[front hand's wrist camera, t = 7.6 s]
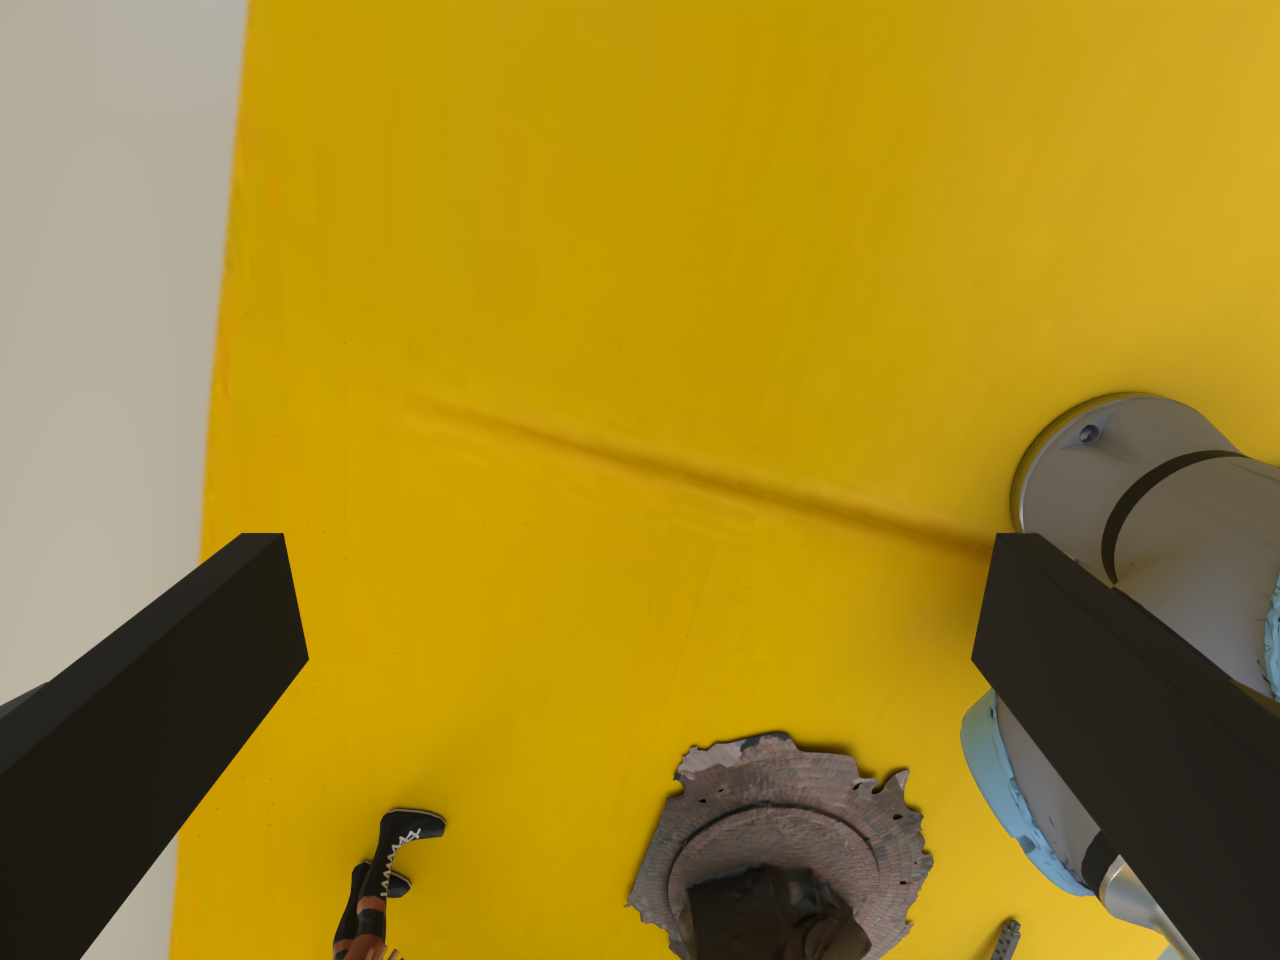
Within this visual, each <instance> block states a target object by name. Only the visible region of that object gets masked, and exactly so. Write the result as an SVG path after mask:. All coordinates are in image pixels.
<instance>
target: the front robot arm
mask: <svg viewBox="0 0 1280 960" xmlns="http://www.w3.org/2000/svg"><path fill="white" fill-rule="evenodd" d="M1010 508H1011V516H1012V521H1013V525H1014V528H1015V530H1016V532H1017V533H997V534H996V539H995V544H994V549H993V554H992V559H991V563H990V568H989V573H988V578H987V583H986V588H985V593H984V598H983V603H982V608H981V613H980V617H979V622H978V627H977V632H976V637H975V642H974V647H973V652H972V657H971V660H972V662H973V663H974V664H975V665H976V667H977V668H978V669H979V671H980V672H981V673H982V675H983V676H984V677H985V679H986V680H987V681H988V683H989V684H990V685H991V686H992V687H991V689H990V690H989V691H988V692H987V693H986V694H985V695H984V696H983V697H981V698H980V699H979V700H978V701H977V702H976V703H975V704H974V705H973V706H972V707H971V708H970V709H969V710H968V711H967V712H966V714H965V716H964V717H963V720H962V728H961V731H960V739H961V745H962V749H963V753H964V756H965V759H966V762H967V764H968V767H969V769H970V772H971V774H972V776H973V778H974V780H975V782H976V784H977V786H978V788H979V789H980V791H981V793H982V795H983V796H984V798H985V800H986V801H987V803H988V805H989V806H990V808H991V809H992V811H993V813H994V814H995V816H996V817H997V819H998V820H999V822H1000V823H1001V825H1002V826H1003V827H1004V829H1005V830H1006V831H1007V833H1008V834H1009V835H1010V836H1011V837H1013V838H1015V839H1016V840H1018V841H1019V844H1020V846H1021V847H1022V849H1023V851H1024V853H1025V855H1026V856H1027V857H1028V858H1029V860H1030V861H1031V862H1032V863H1033V864H1034V865H1035V866H1036V867H1037V869H1038V870H1039V871H1040V872H1041V873H1043V874H1044V875H1045V876H1046V877H1047V878H1048V879H1049V880H1050V881H1051V882H1052V883H1054V884H1055V885H1056V886H1057V887H1059V888H1060V889H1062V890H1064V891H1066V892H1068V893H1070V894H1073V895H1076V896H1081V897H1082V896H1086V895H1088V896H1093V895H1096V897H1097V898H1098V899H1099V901H1100V902H1101V903H1102V905H1103V906H1104V907H1105V909H1106V910H1107V911H1108V912H1109V914H1111V915H1112V916H1114V917H1115V918H1117V919H1120V920H1123V921H1126V922H1129V923H1133V924H1136V925H1139V926H1142V927H1145V928H1149V929H1152V930H1154V931H1156V932H1158V933H1159V934H1161V935H1163V936H1164V937H1165V939H1166V940H1167V941H1168V942H1169V944H1170V945H1171V946H1172V947H1173V949H1174V950H1175V951H1176V952H1177V954H1178V955H1179V956H1180V957H1181V959H1182V960H1280V468H1277V467H1275V466H1272V465H1269V464H1267V463H1264V462H1261V461H1258V460H1255V459H1252V458H1250V457H1247V456H1245V455H1243V454H1242V453H1241V452H1240V451H1239V450H1238V449H1237V448H1236V447H1235V446H1234V445H1233V444H1232V443H1231V442H1230V441H1229V440H1228V439H1227V438H1226V437H1225V436H1224V435H1223V434H1221V433H1220V432H1219V431H1218V430H1217V429H1216V428H1215V427H1214V426H1213V425H1212V424H1211V423H1210V422H1209V421H1208V420H1207V419H1206V418H1205V417H1204V416H1203V415H1202V414H1200V413H1199V412H1198V411H1196V410H1195V409H1193V408H1191V407H1189V406H1187V405H1185V404H1182V403H1180V402H1177V401H1174V400H1171V399H1168V398H1165V397H1162V396H1158V395H1154V394H1149V393H1142V392H1123V393H1116V394H1110V395H1106V396H1102V397H1099V398H1096V399H1093V400H1090V401H1088V402H1085V403H1083V404H1081V405H1079V406H1077V407H1075V408H1073V409H1071V410H1070V411H1068V412H1066V413H1065V414H1063V415H1062V416H1061V417H1059V418H1058V419H1056V420H1055V421H1054V422H1053V423H1052V424H1050V425H1049V426H1048V427H1047V428H1046V429H1045V430H1044V431H1043V432H1042V433H1041V434H1040V435H1039V436H1038V437H1037V439H1036V440H1035V441H1034V442H1033V443H1032V445H1031V446H1030V448H1029V449H1028V450H1027V452H1026V453H1025V455H1024V457H1023V459H1022V460H1021V462H1020V465H1019V467H1018V469H1017V472H1016V474H1015V477H1014V481H1013V485H1012V489H1011V497H1010ZM308 660H309V657H308V652H307V647H306V642H305V637H304V632H303V627H302V622H301V617H300V613H299V608H298V603H297V598H296V593H295V588H294V583H293V578H292V573H291V568H290V563H289V559H288V554H287V549H286V544H285V539H284V534H283V533H241V534H240V535H239V536H237V537H236V538H235V539H233V540H232V541H231V542H230V543H228V544H227V545H226V546H224V547H223V548H222V549H221V550H219V551H218V552H217V553H215V554H214V555H213V556H211V557H210V558H209V559H208V560H206V561H205V562H204V563H202V564H201V565H200V566H198V567H197V568H196V569H195V570H193V571H192V572H191V573H189V574H188V575H187V576H186V577H184V578H183V579H182V580H180V581H179V582H178V583H176V584H175V585H174V586H173V587H171V588H170V589H169V590H167V591H166V592H165V593H163V594H162V595H161V596H160V597H158V598H157V599H156V600H154V601H153V602H152V603H150V604H149V605H148V606H147V607H145V608H144V609H143V610H141V611H140V612H139V613H137V614H136V615H135V616H134V617H132V618H131V619H130V620H128V621H127V622H126V623H125V624H123V625H122V626H121V627H119V628H118V629H117V630H116V631H114V632H113V633H112V634H110V635H109V636H108V637H106V638H105V639H104V640H102V641H101V642H100V643H99V644H97V645H96V646H95V647H93V648H92V649H91V650H89V651H88V652H87V653H86V654H84V655H83V656H82V657H80V658H79V659H78V660H77V661H75V662H74V663H73V664H71V665H70V666H69V667H68V668H66V669H65V670H64V671H62V672H61V673H60V674H58V675H57V676H56V677H55V678H53V679H52V680H51V681H49V682H46V683H44V684H42V685H40V686H38V687H36V688H34V689H32V690H30V691H28V692H26V693H25V694H23V695H21V696H19V697H17V698H15V699H13V700H11V701H9V702H7V703H5V704H3V705H1V706H0V960H80V959H81V957H82V956H83V955H84V954H85V952H86V951H87V950H88V948H89V947H90V946H91V944H92V943H93V942H94V940H95V939H96V938H97V937H98V935H99V934H100V933H101V931H102V930H103V929H104V927H105V926H106V925H107V923H108V922H109V921H110V919H111V918H112V917H113V916H114V914H115V913H116V912H117V910H118V909H119V908H120V906H121V905H122V904H123V902H124V901H125V900H126V899H127V897H128V896H129V895H130V893H131V892H132V891H133V889H134V888H135V887H136V885H137V884H138V883H139V882H140V880H141V879H142V878H143V876H144V875H145V874H146V872H147V871H148V870H149V868H150V867H151V866H152V865H153V863H154V862H155V861H156V859H157V858H158V857H159V855H160V854H161V853H162V851H163V850H164V849H165V848H166V846H167V845H168V843H169V842H170V841H171V840H172V838H173V837H174V836H175V834H176V833H177V832H178V830H179V829H180V828H181V827H182V825H183V824H184V823H185V821H186V820H187V819H188V817H189V816H190V815H191V813H192V812H193V811H194V810H195V808H196V807H197V806H198V804H199V803H200V802H201V800H202V799H203V798H204V796H205V795H206V794H207V793H208V791H209V790H210V789H211V787H212V786H213V785H214V783H215V782H216V781H217V779H218V778H219V777H220V775H221V774H222V773H223V772H224V770H225V769H226V768H227V766H228V765H229V764H230V762H231V761H232V760H233V758H234V757H235V756H236V755H237V753H238V752H239V751H240V749H241V748H242V747H243V745H244V744H245V743H246V741H247V740H248V739H249V738H250V736H251V735H252V734H253V732H254V731H255V730H256V728H257V727H258V726H259V724H260V723H261V722H262V720H263V719H264V718H265V717H266V715H267V714H268V713H269V711H270V710H271V709H272V707H273V706H274V705H275V703H276V702H277V701H278V700H279V698H280V697H281V696H282V694H283V693H284V692H285V690H286V689H287V688H288V686H289V685H290V684H291V683H292V681H293V680H294V679H295V677H296V676H297V675H298V673H299V672H300V671H301V669H302V668H303V667H304V665H305V664H306V663H307V662H308Z"/></svg>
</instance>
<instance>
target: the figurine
mask: <svg viewBox="0 0 1280 960" xmlns="http://www.w3.org/2000/svg"><path fill="white" fill-rule="evenodd" d="M445 825H446V822H445V821H444V820H443V819H442V818H441V817H439V816H437V815H435V814H432V813H429V812H424V811H418V810H406V809H394V810H391V811H388V812H387V813H386V814H385V815H384V816H383V818H382V820H381V822H380V835H379V843H378V847H377V850H376V853H375V856H374V859H373V861H372V863H370V862H368V861H366V860H365V861H363V862H361V863H359V864H358V865H357V866H356V867H355V868H354V870H353V872H352V884H351V894H350V897H349V901H348V904H347V907H346V909H345V911H344V913H343V916H342V918H341V920H340V923H339V926H338V928H337V931H336V934H335V937H334V941H333V960H383V956H384V954H385V952H386V950H387V948H388V946H386V945H385V938H386V901H387V897H388V898H398V897H402V896H403V895H404V894H406V893H407V892H408V891H409V890H410V888H411V884H410V882H409V880H407V879H406V878H404V877H402V876H400V875H398V874H396V873H393V872H391V867H392V863H393V860H394V857H395V854H396V851H397V850H398V849H399V848H400V847H401V846H402V845H404V844H405V843H406V842H409V841H413V840H416V839H425V838H434V837H442V835H443V834H444V831H445ZM398 953H399V951H398V950H397V949H394V950H393V952H392V953H391V955H390V957H389V958H388V960H395V959H396V957H397V955H398ZM400 960H404V958H401V959H400Z"/></svg>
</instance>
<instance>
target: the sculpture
mask: <svg viewBox="0 0 1280 960" xmlns="http://www.w3.org/2000/svg"><path fill="white" fill-rule="evenodd" d="M689 751H690V752H689V753H688V755H687V756H686V757H684V756H682V758H683V760H682V761H683V763H682V764H681V765H679V768H678V772H677V773H675V775H674V779H673V780H678V781H680V782H681V784H682V785H683V787H684V794H683V795H681V796H677V797H672V798H667V799H666V800H667V801H668V802H666V803H667V805H666V808H664V811H663V813H662V816H661V820H660V822H659V824H658V825H659V826H658V827H657V828H656V831H655V833H656V834H654V836H653V839H652V841H651V844H650V846H649V848H648V850H647V853H646V856H645V857H644V860H643V863H644V865H641V868H640V869H639V873H638V875H637V879H636V881H635V883H634V884H635V886H634V888H633V890H632V892H631V893H630V895H629V897H628V899H627V902H628V904H626V906H625V905H624V906H623V907H629V906H631V905H632V906H633V907H634V908H635V909H636V910H638V911H639V912H640V919H641V921H642V922H643V923H646V924H649V923H653V924H656V925H657V926H658V927H659V928H661V929H665V930H666V931H667V932H668V933H669V939H670V941H671V942H670V945H669V949H671V951H672V952H674V953H675V954H676V955H678V956H679V957H680V958H681V959H682V960H878V958H879V959H880V957H882V956H883V955H884V954H885V953H887V952H888V951H889V950H890V949H891V948H892V947H894V946H895V945H897V944H898V943H899V941H901V940H902V938H903V937H905V936H906V935H907V934H909V931H910V928H911V927H912V926H913V924H914V923H913V924H909V925H906V924H905V920H906V914H907V910H908V908H909V907H910V906H911V905H912V904H913V903H914V902H915V901H916V898H917V897H918V895H917V892H918V891H920V890H921V885H922V884H923V882H924V880H925V879H926V877H927V876H928V874H927V873H928V872H929V871H930V870H931V869H930V868H932V866H933V863H934V861H933V858H932V856H931V855H924V854H923V853H922V852H921V851H922V849H923V847H924V844H925V840H924V838H923V836H922V835H921V834H920V833H919V832H918V831H920V830H922V829H921V827H920V823H921V821H922V819H923V817H924V816H923V815H922V814H921V813H918V812H912V811H910V810H909V809H908V808H907V807H906V805H905V802H904V787H905V784H906V781H907V778H908V775H909V770H905V771H902V772H900V773H898V774H896V775H894V776H893V777H891V779H890V780H889V781H888V782H887V784H886V785H885V786H884V789H883V790H882V791H881V792H880V793H878V794H872V793H871V791H872V789H873V788H874V787H876V786H877V785H878V784H879V781H878V780H877V779H874V778H869V779H864V778H861V777H859V775H858V769H857V765H856V761H855V759H854V758H853V757H851V756H847V755H839V754H831V753H809V752H803V751H800V750H798V749H797V748H796V746H795V745H794V743H793V741H792V740H791V738H790V737H789V736H788V735H786V734H783V733H773V734H767V735H762V736H757V737H753V738H749V739H745V740H741V741H737V742H733V743H728V744H715V745H714V746H713V747H712V748H710V749H709V750H708V751H701V750H698V749H697V747H694V748H691V749H690V750H689ZM873 781H874V782H873ZM860 782H862V784H860V785H859V788H858V789H857V790H853V788H854V786H855V785H857V784H858V783H860ZM720 789H724V790H723V791H722V792H718V791H719V790H720ZM702 799H705V800H706V803H701V802H699V800H702ZM895 814H900V815H902V816H903V818H901V819H898V820H894V819H893V816H894V815H895ZM914 862H917V864H914ZM901 881H906V882H907V884H904V885H901V884H900V882H901ZM643 908H644V909H643ZM647 917H650V918H647Z"/></svg>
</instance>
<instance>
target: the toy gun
mask: <svg viewBox="0 0 1280 960" xmlns="http://www.w3.org/2000/svg"><path fill="white" fill-rule="evenodd" d="M1020 926H1021V925H1020V924H1019V923H1018V922H1017V921H1015V920H1011V921H1010V923H1009V925H1005V926H1004V928H1003V930H1002V933H1001V935H1000V938H999V940H998V942H997V945H996V947H995V950H994V952H993V954H992V957H991V959H990V960H1011V958H1012V955H1013V953H1014V950H1015V948H1016V946H1017V943H1018V941H1019V938H1020V936H1021V934H1020V933H1019V932H1018V931H1019V929H1020Z"/></svg>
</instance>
